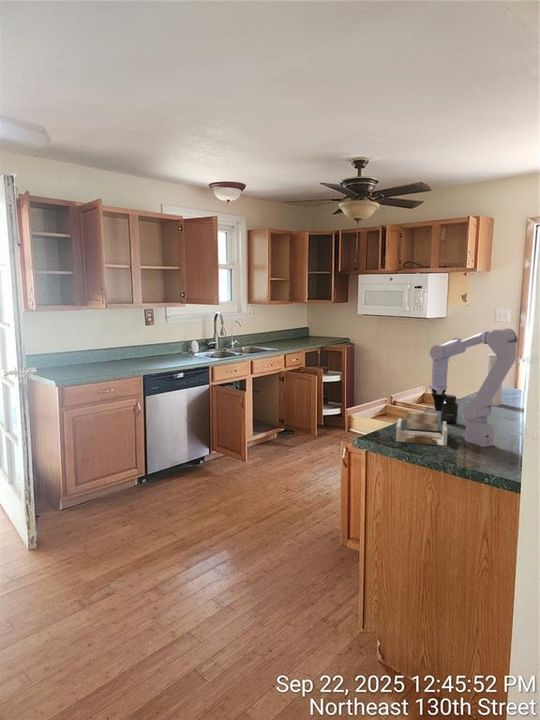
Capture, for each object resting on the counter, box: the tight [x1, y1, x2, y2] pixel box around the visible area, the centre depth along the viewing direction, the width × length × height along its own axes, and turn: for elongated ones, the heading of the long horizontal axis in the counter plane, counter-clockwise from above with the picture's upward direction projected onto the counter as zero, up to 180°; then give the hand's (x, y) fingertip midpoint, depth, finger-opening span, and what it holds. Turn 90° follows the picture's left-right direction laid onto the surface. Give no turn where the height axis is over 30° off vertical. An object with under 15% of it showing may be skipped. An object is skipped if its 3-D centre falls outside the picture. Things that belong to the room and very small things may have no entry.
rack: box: [395, 418, 448, 446], centre depth 183 cm, size 18×14×6 cm
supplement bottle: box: [439, 394, 459, 426], centre depth 205 cm, size 7×7×12 cm
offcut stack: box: [405, 434, 437, 445], centre depth 179 cm, size 11×3×2 cm, turn 72°
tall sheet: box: [406, 411, 439, 432], centre depth 195 cm, size 12×2×8 cm, turn 72°
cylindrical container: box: [486, 353, 503, 407], centre depth 238 cm, size 7×7×25 cm
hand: (438, 408), depth 191 cm, fingers open, 7 cm apart
